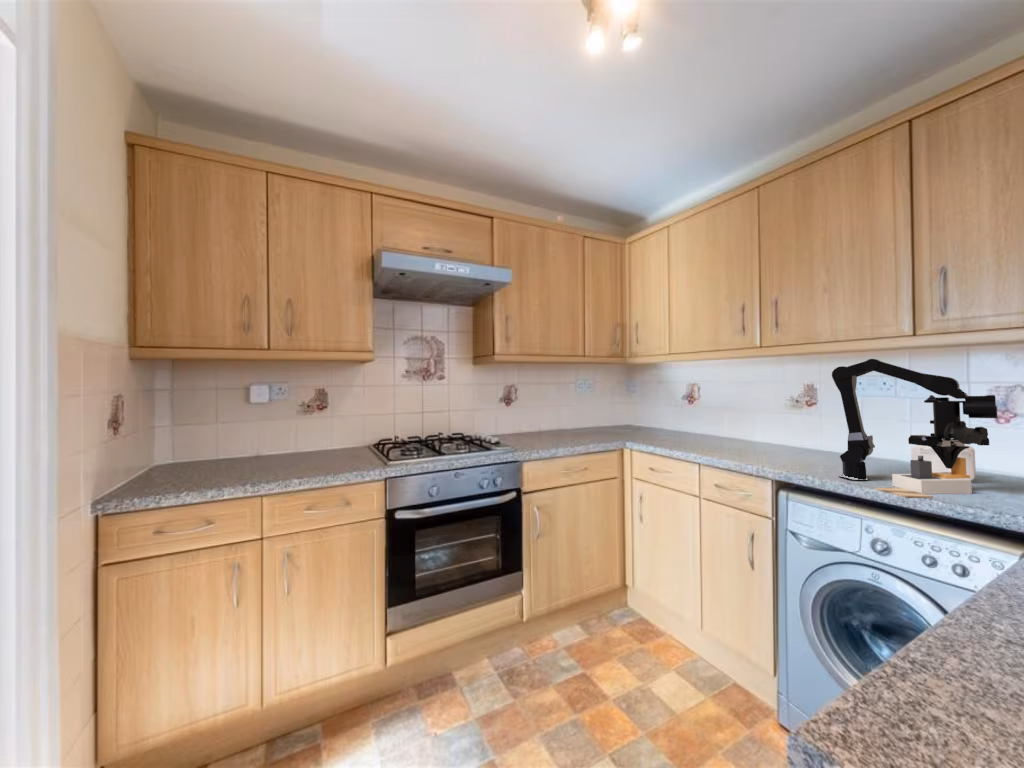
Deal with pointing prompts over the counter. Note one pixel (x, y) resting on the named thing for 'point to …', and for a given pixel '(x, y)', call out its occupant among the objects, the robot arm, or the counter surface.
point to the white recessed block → (933, 485)
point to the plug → (921, 469)
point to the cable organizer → (938, 464)
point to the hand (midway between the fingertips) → (949, 468)
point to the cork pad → (904, 492)
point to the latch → (955, 470)
